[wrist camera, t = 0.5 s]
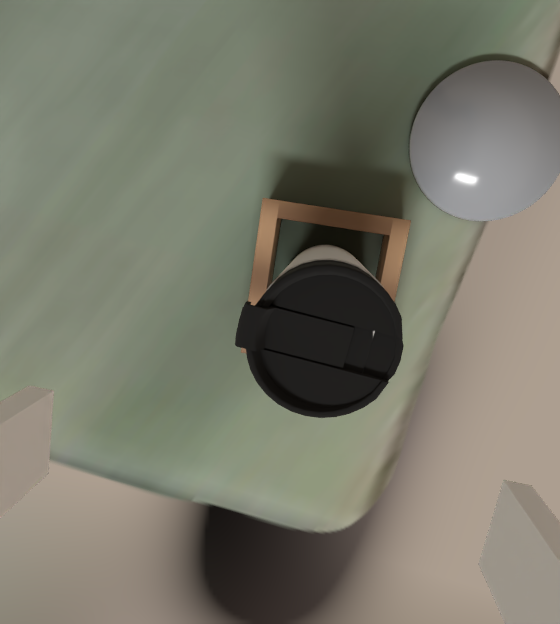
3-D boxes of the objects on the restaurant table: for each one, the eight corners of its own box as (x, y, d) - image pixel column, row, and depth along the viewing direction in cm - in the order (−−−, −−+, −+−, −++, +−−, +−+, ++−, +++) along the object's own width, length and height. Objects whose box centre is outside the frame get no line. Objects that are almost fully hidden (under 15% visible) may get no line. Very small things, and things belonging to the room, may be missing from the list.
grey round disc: (426, 53, 33) (427, 50, 33) (583, 74, 33) (588, 71, 32) (395, 209, 35) (396, 208, 35) (542, 231, 35) (546, 231, 34)
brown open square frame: (268, 200, 36) (262, 197, 33) (402, 221, 36) (411, 220, 32) (248, 341, 38) (240, 352, 35) (374, 363, 38) (379, 376, 34)
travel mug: (292, 234, 37) (255, 242, 17) (374, 255, 36) (433, 289, 17) (272, 310, 38) (217, 400, 18) (352, 331, 37) (383, 445, 18)
